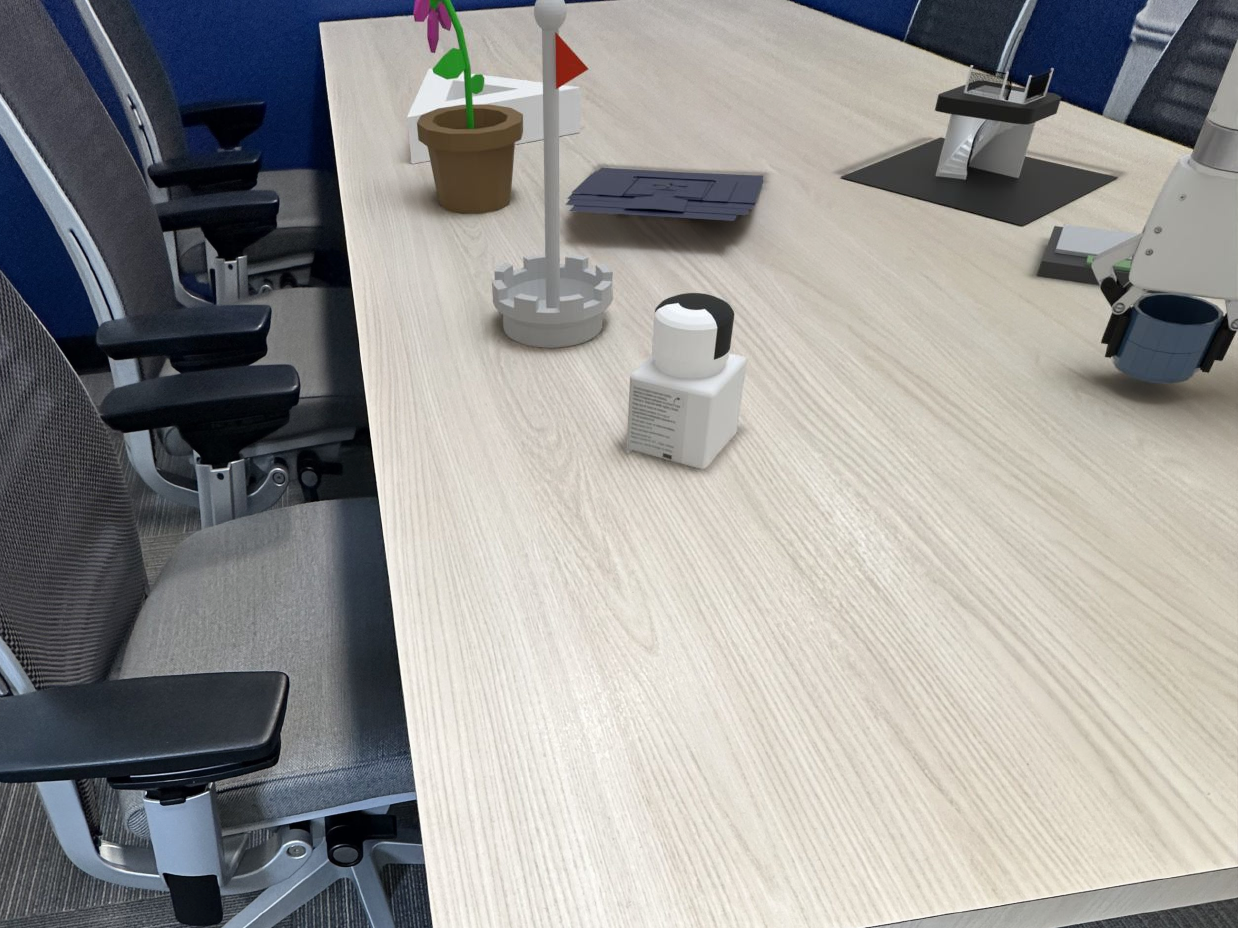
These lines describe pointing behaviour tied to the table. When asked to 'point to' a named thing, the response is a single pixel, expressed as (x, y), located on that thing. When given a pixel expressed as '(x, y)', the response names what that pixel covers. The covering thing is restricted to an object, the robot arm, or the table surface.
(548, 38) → the flag stand
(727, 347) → the container
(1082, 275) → the scale
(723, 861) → the table surface
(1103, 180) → the black-topped pedestal
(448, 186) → the flowerpot
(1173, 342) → the blue cup
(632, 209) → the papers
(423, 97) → the triangle block
